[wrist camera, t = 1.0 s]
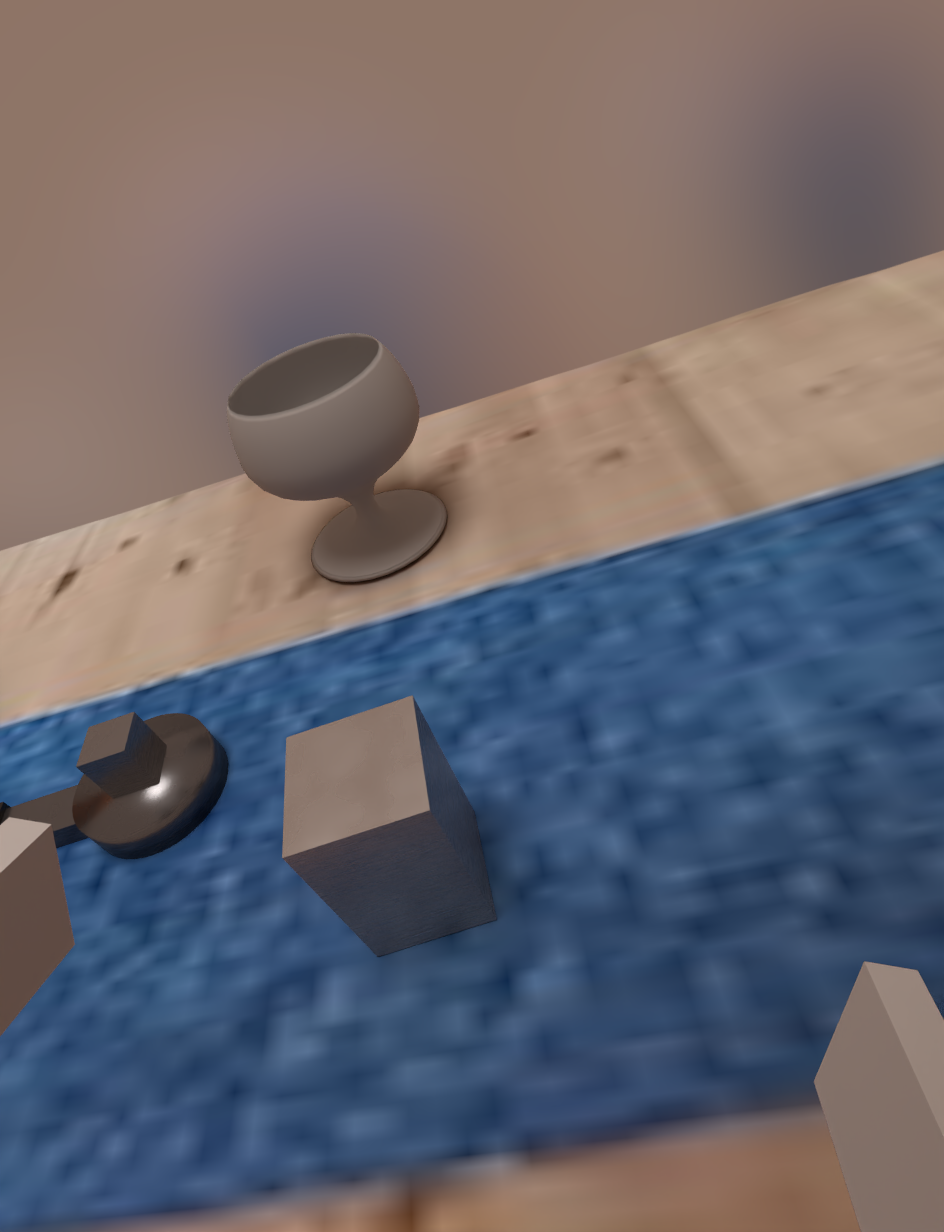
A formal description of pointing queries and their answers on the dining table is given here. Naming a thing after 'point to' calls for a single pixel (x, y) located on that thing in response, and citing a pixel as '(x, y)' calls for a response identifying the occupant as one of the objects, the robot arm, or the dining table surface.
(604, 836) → the dining table surface
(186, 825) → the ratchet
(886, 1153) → the robot arm
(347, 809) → the tall taupe upright block
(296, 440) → the chalice
